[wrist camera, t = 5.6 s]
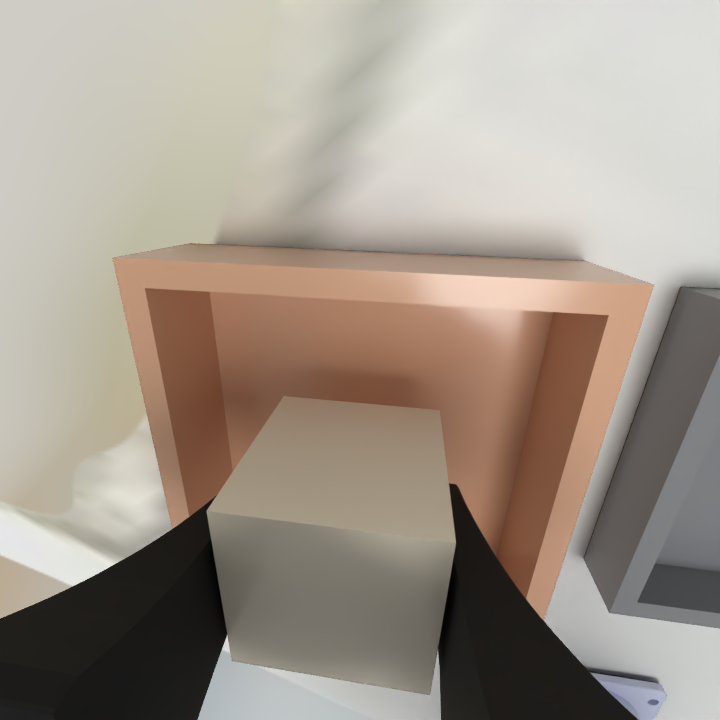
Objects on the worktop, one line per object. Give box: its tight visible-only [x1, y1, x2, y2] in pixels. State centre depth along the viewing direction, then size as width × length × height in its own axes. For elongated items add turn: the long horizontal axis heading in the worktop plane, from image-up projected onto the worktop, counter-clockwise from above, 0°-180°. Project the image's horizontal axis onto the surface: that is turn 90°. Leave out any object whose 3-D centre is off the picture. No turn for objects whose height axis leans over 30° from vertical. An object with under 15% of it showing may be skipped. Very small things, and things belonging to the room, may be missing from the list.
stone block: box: [207, 396, 456, 695], centre depth 11 cm, size 5×5×5 cm
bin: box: [113, 243, 654, 621], centre depth 14 cm, size 14×14×4 cm
